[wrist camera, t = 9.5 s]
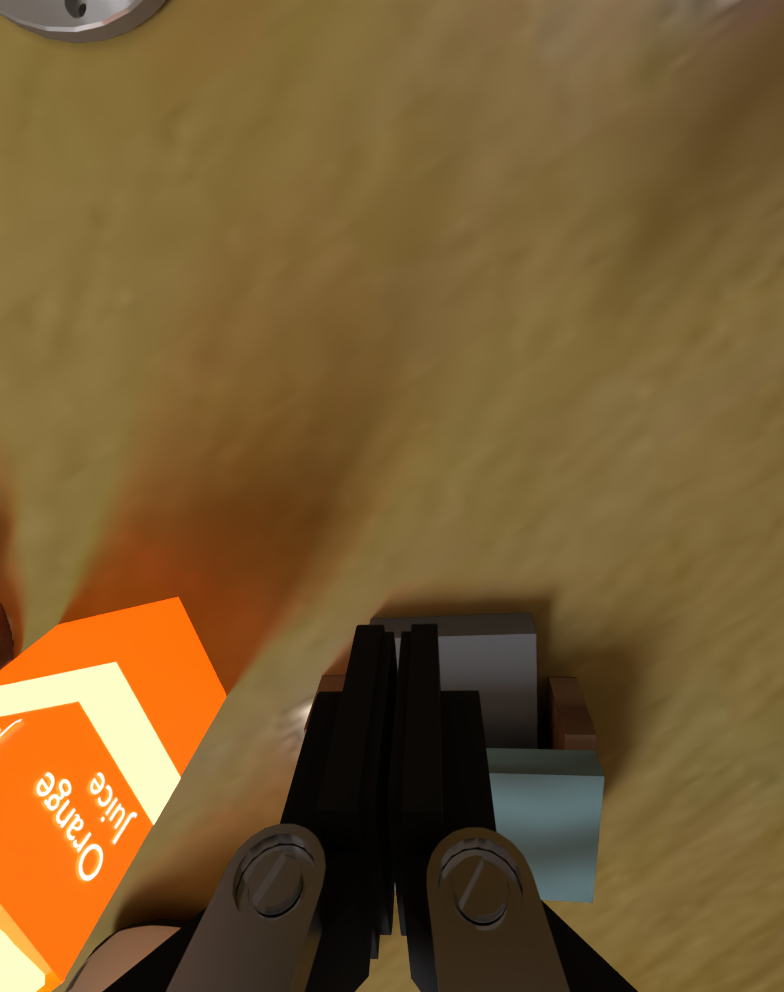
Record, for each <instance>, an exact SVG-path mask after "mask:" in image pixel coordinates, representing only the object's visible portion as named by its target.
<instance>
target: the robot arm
mask: <svg viewBox="0 0 784 992" xmlns="http://www.w3.org/2000/svg"><path fill="white" fill-rule="evenodd" d="M165 2H166V0H0V15H2V16H3V17H5V18H6V19H8V20H9V21H11V22H13V23H14V24H16V25H17V26H19V27H20V28H23V29H25V30H28V31H30V32H33V33H35V34H38V35H40V36H43V37H45V38H48V39H53V40H59V41H66V42H72V43H83V42H95V41H104V40H107V39H109V38H112V37H115V36H118V35H120V34H123V33H126V32H129V31H130V30H132V29H133V28H135V27H136V26H138V25H139V24H141V23H142V22H144V21H145V20H147V19H148V18H149V17H151V16H152V15H154V14H155V12H156V11H157V10H158V9H159V8H160V7H161V6H162V5H163V4H164V3H165ZM395 887H396V895H397V904H398V913H399V921H400V930H401V935H403V936H407V943H408V952H409V962H410V971H411V978H412V980H413V981H414V983H415V984H416V985H417V987H418V988H419V990H420V991H421V992H638V991H637V990H636V989H635V988H633V987H632V986H631V985H630V984H629V983H628V982H627V981H626V980H625V979H624V978H623V977H622V976H621V975H620V974H619V973H618V972H617V971H616V970H615V969H613V968H612V967H611V966H610V965H609V964H608V963H607V962H606V961H605V960H604V959H603V958H602V957H601V956H600V955H599V954H598V953H597V952H596V951H595V950H593V949H592V948H591V947H590V946H589V945H588V944H587V943H586V942H585V941H584V940H583V939H582V938H581V937H580V936H579V935H578V934H577V933H576V932H575V931H573V930H572V929H571V928H570V927H569V926H568V925H567V924H566V923H565V922H564V921H563V920H562V919H561V918H560V917H559V916H558V915H557V914H556V913H554V912H553V911H552V910H551V909H550V908H549V907H548V906H547V905H546V904H545V903H544V902H543V901H542V900H541V899H540V896H539V892H538V889H537V886H536V883H535V880H534V877H533V874H532V871H531V869H530V867H529V865H528V863H527V861H526V859H525V857H524V855H523V854H522V853H521V852H520V851H519V849H518V848H517V847H516V846H515V845H514V843H513V842H511V841H510V840H508V839H507V838H505V837H504V836H502V835H501V834H500V833H497V831H496V823H495V815H494V807H493V799H492V791H491V783H490V775H489V767H488V759H487V751H486V743H485V735H484V727H483V719H482V711H481V703H480V696H479V691H478V690H475V691H441V682H440V662H439V642H438V624H412V625H411V631H402V632H401V641H400V653H399V665H398V668H397V657H396V646H395V636H394V632H385V628H384V625H358V626H357V628H356V631H355V636H354V641H353V645H352V650H351V654H350V659H349V663H348V668H347V672H346V677H345V681H344V686H343V690H342V691H320V692H319V693H318V694H317V696H316V699H315V702H314V705H313V709H312V712H311V716H310V720H309V723H308V727H307V730H306V734H305V737H304V741H303V744H302V748H301V751H300V755H299V758H298V762H297V765H296V769H295V773H294V776H293V780H292V783H291V787H290V790H289V794H288V797H287V801H286V804H285V808H284V811H283V815H282V818H281V822H280V824H278V825H274V826H271V827H267V828H265V829H263V830H261V831H260V832H258V833H256V834H255V835H253V836H251V837H250V838H249V839H248V840H247V841H246V842H245V843H244V844H243V845H242V846H241V847H240V848H239V849H238V850H237V852H236V853H235V855H234V856H233V858H232V859H231V861H230V863H229V864H228V866H227V868H226V870H225V872H224V874H223V876H222V878H221V880H220V882H219V884H218V886H217V888H216V890H215V892H214V894H213V896H212V898H211V901H210V903H209V905H208V907H206V908H205V909H204V910H203V911H201V912H200V913H199V914H198V915H196V916H195V917H194V918H193V919H191V920H190V921H189V922H188V923H187V924H185V925H184V926H183V927H182V928H180V929H179V930H178V931H177V932H175V933H174V934H173V935H172V936H170V937H169V938H168V939H167V940H166V941H164V942H163V943H162V944H161V945H159V946H158V947H157V948H156V949H154V950H153V951H152V952H151V953H149V954H148V955H147V956H146V957H144V958H143V959H142V960H141V961H140V962H138V963H137V964H136V965H135V966H133V967H132V968H131V969H130V970H128V971H127V972H126V973H125V974H123V975H122V976H121V977H120V978H119V979H117V980H116V981H115V982H114V983H112V984H111V985H110V986H109V987H107V988H106V989H105V990H104V991H102V992H355V991H356V990H357V989H358V987H359V986H360V985H361V984H362V983H363V982H364V981H365V980H366V978H367V977H368V976H369V966H370V959H378V951H379V939H380V935H391V933H392V923H393V907H394V890H395Z"/></svg>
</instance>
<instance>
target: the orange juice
mask: <svg viewBox="0 0 784 992" xmlns="http://www.w3.org/2000/svg"><path fill="white" fill-rule="evenodd" d="M226 697H227V695H226V693H225V691H224V689H223V687H222V685H221V683H220V681H219V679H218V677H217V675H216V673H215V671H214V669H213V667H212V665H211V663H210V661H209V659H208V657H207V654H206V652H205V650H204V648H203V646H202V644H201V642H200V640H199V638H198V636H197V634H196V632H195V630H194V628H193V626H192V624H191V622H190V620H189V618H188V616H187V614H186V611H185V609H184V607H183V605H182V603H181V601H180V599H179V597H176V598H171V599H167V600H163V601H158V602H154V603H150V604H145V605H141V606H137V607H132V608H128V609H124V610H119V611H115V612H111V613H106V614H102V615H98V616H93V617H89V618H85V619H80V620H76V621H72V622H67V623H63V624H59V625H57V626H56V627H54V628H53V629H52V630H51V631H49V632H48V633H47V634H45V635H44V636H43V637H42V638H40V639H39V640H38V641H37V642H35V643H34V644H33V645H32V646H30V647H29V648H28V649H27V650H25V651H24V652H23V653H21V654H20V655H19V656H18V657H16V658H15V659H14V660H13V661H11V662H10V663H9V664H8V665H6V666H5V667H4V668H3V669H1V670H0V992H51V991H52V990H53V989H54V988H56V987H57V986H58V985H60V984H61V983H62V982H63V981H65V980H64V978H65V977H66V975H67V973H68V972H69V970H70V968H71V966H72V965H73V963H74V961H75V959H76V958H77V956H78V954H79V952H80V951H81V949H82V947H83V945H84V944H85V942H86V940H87V938H88V937H89V935H90V933H91V931H92V930H93V928H94V926H95V925H96V923H97V921H98V919H99V918H100V916H101V914H102V912H103V911H104V909H105V907H106V905H107V904H108V902H109V900H110V898H111V897H112V895H113V893H114V891H115V890H116V888H117V886H118V885H119V883H120V881H121V879H122V878H123V876H124V874H125V872H126V871H127V869H128V867H129V865H130V864H131V862H132V860H133V858H134V857H135V855H136V853H137V851H138V850H139V848H140V846H141V844H142V843H143V841H144V839H145V838H146V836H147V834H148V832H149V831H150V829H151V827H152V825H154V824H155V822H156V821H157V819H158V817H159V815H160V814H161V812H162V810H163V808H164V807H165V805H166V803H167V801H168V800H169V798H170V796H171V794H172V793H173V791H174V789H175V787H176V786H177V784H178V782H179V780H180V779H181V775H182V773H183V771H184V770H185V768H186V766H187V764H188V763H189V761H190V759H191V757H192V756H193V754H194V752H195V750H196V749H197V747H198V745H199V744H200V742H201V740H202V738H203V737H204V735H205V733H206V731H207V730H208V728H209V726H210V724H211V723H212V721H213V719H214V717H215V716H216V714H217V712H218V710H219V709H220V707H221V705H222V703H223V702H224V700H225V698H226Z"/></svg>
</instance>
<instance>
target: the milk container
mask: <svg viewBox="0 0 784 992" xmlns="http://www.w3.org/2000/svg"><path fill="white" fill-rule="evenodd" d="M187 923H188V922H184V921H171V920H161V919H160V920H155V921H150V922H145V923H137V924H133V925H130V926H127V927H124V928H122V929H120V930H118V931H117V932H115V933H113V934H112V935H110V936H109V937H107V938H106V939H105V940H104V941H103V942H102V943H101V944H99V945H98V946H97V947H96V948H95V950H94V951H93V952H92V953H91V955H90V956H89V957H88V958H87V960H86V961H85V962H84V964H83V965H82V966H81V968H80V969H79V970H78V972H77V973H76V975H75V976H74V978H73V979H72V981H71V982H70V984H69V985H68V987H67V989H66V990H65V992H102V991H104V990H105V989H106V988H107V987H109V986H110V985H111V984H112V983H114V982H115V981H116V980H117V979H119V978H120V977H121V976H122V975H123V974H125V973H126V972H127V971H128V970H130V969H131V968H132V967H133V966H135V965H136V964H137V963H138V962H140V961H141V960H142V959H143V958H144V957H146V956H147V955H148V954H149V953H151V952H152V951H153V950H154V949H156V948H157V947H158V946H159V945H161V944H162V943H163V942H164V941H166V940H167V939H168V938H169V937H170V936H172V935H173V934H174V933H175V932H177V931H178V930H179V929H180V928H182V927H183V926H184V925H185V924H187Z"/></svg>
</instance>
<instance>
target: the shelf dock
mask: <svg viewBox="0 0 784 992" xmlns="http://www.w3.org/2000/svg"><path fill="white" fill-rule="evenodd" d="M345 677H346V676H322V678H321V681H320V684H319V687H318V690H317V693H316V695H315V698H314V701H313V704H312V707H311V710H310V713H309V716H308V719H307V722H306V725H305V728H304V732H305V734H306V730H307V727H308V723H309V720H310V716H311V712H312V709H313V705H314V702H315V699H316V696H317V694H318V693H319V692H320V691H342V690H343V686H344V681H345ZM596 738H597V735H596V732H595V729H594V726H593V724H592V721H591V718H590V716H589V713H588V710H587V708H586V705H585V702H584V699H583V697H582V694H581V691H580V689H579V686H578V683H577V681H576V678H559V677H549V683H548V707H547V732H546V749H507V748H486V751H487V759H488V767H489V775H490V783H491V791H492V799H493V807H494V815H495V823H496V831H497V833H500V834H501V835H502V836H504V837H505V838H507V839H508V840H510V841H511V842H513V843H514V845H515V846H516V847H517V848H518V849H519V851H520V852H521V853H522V854H523V855H524V857H525V859H526V861H527V863H528V865H529V867H530V869H531V871H532V874H533V877H534V880H535V883H536V886H537V889H538V892H539V896H540V899H541V900H555V901H572V902H589V903H593V894H594V883H595V873H596V862H597V852H598V841H599V830H600V820H601V809H602V799H603V788H604V777H605V776H604V773H603V771H602V768H601V765H600V762H599V759H598V756H597V754H596V751H595V750H596ZM394 891H396V887H395V890H394Z"/></svg>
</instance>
